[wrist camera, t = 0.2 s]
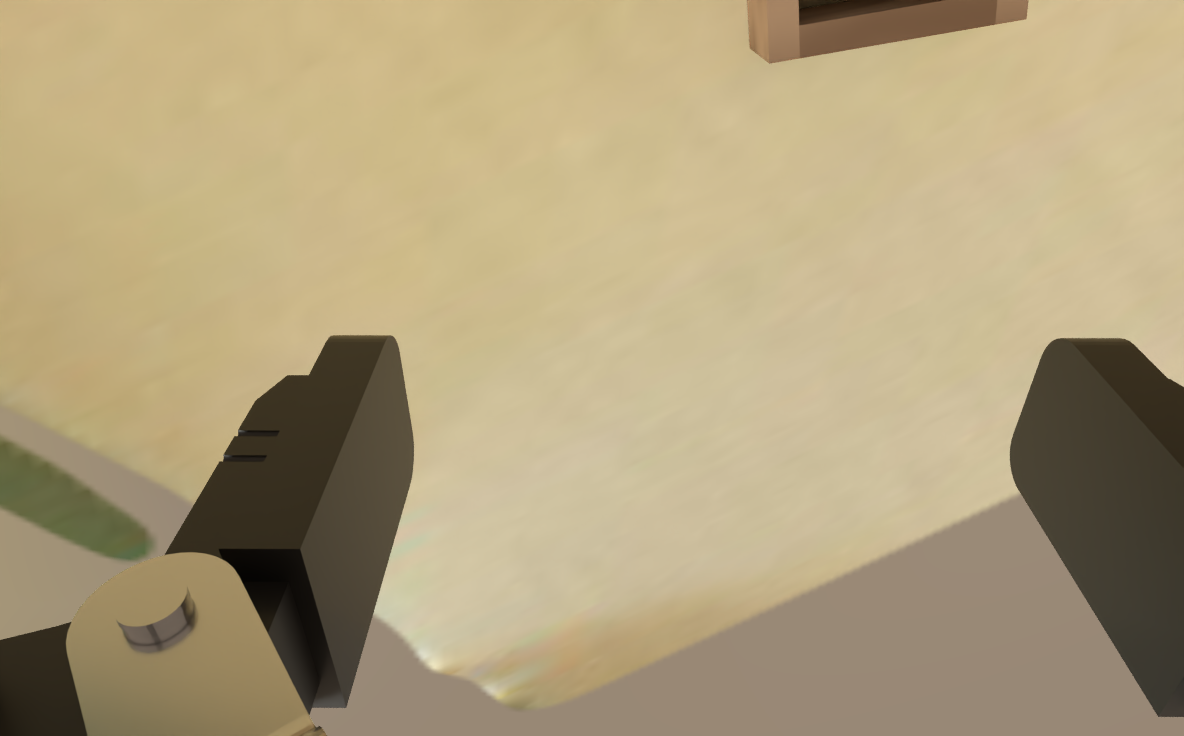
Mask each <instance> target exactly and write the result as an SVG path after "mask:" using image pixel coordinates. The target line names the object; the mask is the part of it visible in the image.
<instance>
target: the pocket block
mask: <svg viewBox="0 0 1184 736" xmlns="http://www.w3.org/2000/svg"><path fill="white" fill-rule="evenodd" d="M747 4H748V23H749V42H750V49H752V50H753V51H754V52H755V53H757V54H758V55H759V56H761V57H762V58H763V59H764V60H766V61H767V62H768V63H775V62H781V61H787V60H792V59H798V58H804V57H810V56H816V55H821V54H827V53H833V52H839V51H845V50H850V49H856V48H862V47H868V46H874V45H879V44H885V43H891V42H897V41H903V40H908V39H914V38H920V37H926V36H931V35H937V34H943V33H949V32H955V31H960V30H966V29H972V28H978V27H984V26H989V25H995V24H1001V23H1007V22H1013V21H1018V20H1024V19H1026V18H1027V9H1028V0H850V1H844V2H838V3H832V4H827V5H821V6H815V7H809V8H804V9H799V0H747Z"/></svg>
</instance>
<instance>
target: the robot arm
mask: <svg viewBox="0 0 1184 736" xmlns="http://www.w3.org/2000/svg"><path fill="white" fill-rule="evenodd" d="M223 456H224V460H223V462H219V464H218V465H217V467H216V469H215V470H214V472H213V474H212V475H211V477H210V479H209V480H208V482H207V484H206V486H205V487H204V489H203V491H202V492H201V494H200V496H199V497H198V499H197V501H196V502H195V504H194V506H193V508H192V509H191V511H190V513H189V515H188V516H187V518H186V519H185V521H184V523H183V524H182V526H181V528H180V530H179V531H178V533H177V535H176V536H175V538H174V540H173V542H172V543H171V545H170V546H169V548H168V550H167V552H166V553H165V555H164V556H160V557H156V558H152V559H149V560H147V561H144V562H141V563H139V564H136V565H134V566H132V567H130V568H128V569H126V570H124V571H122V572H121V573H119V574H118V575H116V576H114V577H113V578H111V579H110V580H108V581H107V582H106V583H104V584H103V585H102V586H100V587H99V588H98V589H97V590H96V591H95V592H94V593H93V594H92V595H91V596H90V597H88V599H87V600H86V601H85V603H84V604H83V605H82V606H81V607H80V608H79V610H78V611H77V613H76V615H75V616H74V618H73V620H72V622H70V623H66V624H63V625H59V626H56V627H52V628H48V629H44V630H40V631H36V632H32V633H27V634H24V635H19V636H16V637H11V638H7V639H3V640H0V736H327V735H326V733H325V732H324V731H323V729H322V728H321V727H320V726H319V727H317V728H316V727H315V725H314V724H313V722H312V720H311V718H310V716H309V715H310V711H311V709H312V708H314V707H315V708H316V707H317V708H319V707H321V708H346V706H347V703H348V699H349V696H350V693H351V689H352V686H353V682H354V679H355V675H356V672H357V668H358V665H359V661H360V658H361V654H362V651H363V647H364V644H365V640H366V637H367V633H368V630H369V626H370V623H371V619H372V616H373V612H374V609H375V605H376V602H377V598H378V595H379V591H380V588H381V584H382V581H383V577H384V574H385V570H386V567H387V563H388V560H389V556H390V553H391V549H392V546H393V542H394V539H395V535H396V532H397V528H398V525H399V521H400V518H401V515H402V511H403V508H404V504H405V501H406V497H407V494H408V490H409V487H410V483H411V478H412V472H413V461H414V442H413V432H412V426H411V420H410V413H409V407H408V401H407V395H406V389H405V382H404V376H403V370H402V364H401V358H400V352H399V348H398V344H397V342H396V339H395V338H394V337H393V336H371V335H333V336H331V337H330V338H328V340H327V342H326V343H325V345H324V347H323V349H322V351H321V353H320V355H319V357H318V359H317V361H316V363H315V364H314V366H313V368H312V370H311V372H310V374H309V375H287V376H286V377H285V378H284V379H282V380H281V381H280V382H279V383H277V384H276V385H275V386H274V387H272V388H271V389H270V390H269V391H267V392H266V393H265V394H263V395H262V396H261V397H260V398H258V399H257V400H256V401H255V403H254V404H253V406H252V408H251V409H250V411H249V413H248V414H247V416H246V418H245V419H244V421H243V423H242V425H241V426H240V428H239V430H238V436H234V438H233V440H232V441H231V443H230V445H229V447H228V448H227V450H226V452H225V453H224V455H223ZM1010 465H1011V471H1012V475H1013V479H1014V481H1015V484H1016V486H1017V488H1018V490H1019V491H1020V493H1021V495H1022V496H1023V498H1024V499H1025V501H1026V503H1027V504H1028V506H1029V507H1030V509H1031V511H1032V512H1033V514H1034V516H1035V517H1036V519H1037V521H1038V522H1039V524H1040V525H1041V527H1042V529H1043V530H1044V532H1045V533H1046V535H1047V536H1048V538H1049V540H1050V541H1051V543H1052V545H1053V546H1054V548H1055V549H1056V551H1057V553H1058V554H1059V556H1060V558H1061V559H1062V561H1063V563H1064V564H1065V566H1066V568H1067V569H1068V571H1069V572H1070V574H1071V576H1072V577H1073V579H1074V581H1075V582H1076V584H1077V585H1078V587H1079V589H1080V590H1081V592H1082V594H1083V595H1084V597H1085V598H1086V600H1087V602H1088V603H1089V605H1090V607H1091V608H1092V610H1093V611H1094V613H1095V615H1096V616H1097V618H1098V620H1099V621H1100V623H1101V624H1102V626H1103V628H1104V629H1105V631H1106V632H1107V634H1108V636H1109V637H1110V639H1111V641H1112V642H1113V644H1114V646H1115V647H1116V649H1117V650H1118V652H1119V654H1120V655H1121V657H1122V659H1123V660H1124V662H1125V663H1126V665H1127V667H1128V668H1129V670H1130V672H1131V673H1132V674H1133V676H1134V678H1135V680H1136V681H1137V683H1138V684H1139V686H1140V688H1141V689H1142V691H1143V693H1144V694H1145V696H1146V698H1147V699H1148V701H1149V702H1150V704H1151V705H1152V707H1153V709H1154V710H1155V712H1156V714H1157V715H1158V717H1184V387H1182V386H1181V385H1179V384H1177V383H1176V382H1174V381H1172V380H1171V379H1168V378H1167V377H1166V376H1165V375H1164V374H1163V373H1162V372H1161V371H1160V370H1159V369H1158V368H1157V367H1156V366H1155V365H1154V364H1153V363H1152V362H1151V361H1150V360H1149V359H1148V358H1147V357H1146V356H1145V355H1144V354H1143V353H1142V352H1141V351H1140V350H1139V349H1138V348H1137V347H1136V346H1135V345H1134V344H1132V343H1131V342H1130V341H1128V340H1126V339H1121V338H1060V339H1056V340H1054V341H1052V342H1051V343H1050V344H1049V345H1048V346H1047V347H1046V349H1045V350H1044V352H1043V355H1042V357H1041V359H1040V362H1039V365H1038V368H1037V370H1036V373H1035V376H1034V379H1033V382H1032V384H1031V387H1030V390H1029V393H1028V395H1027V398H1026V401H1025V404H1024V406H1023V409H1022V412H1021V415H1020V417H1019V420H1018V423H1017V426H1016V428H1015V431H1014V434H1013V437H1012V441H1011V447H1010Z"/></svg>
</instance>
